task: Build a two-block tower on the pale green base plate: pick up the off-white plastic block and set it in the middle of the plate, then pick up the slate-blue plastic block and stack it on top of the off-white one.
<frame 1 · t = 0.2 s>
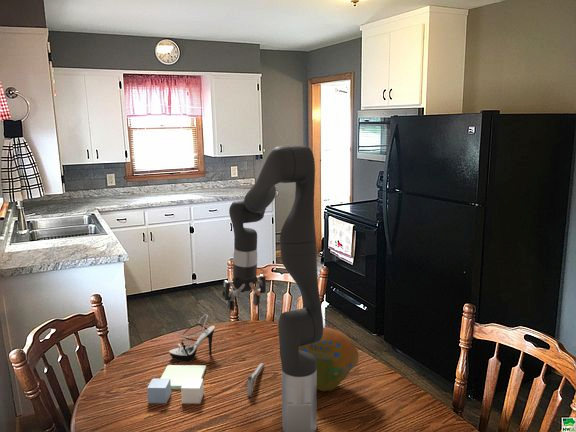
hand: (243, 307, 158), 22 cm above the table, tool pointing down, fingers open, 8 cm apart
brick top: (159, 398, 146), on the table
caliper: (256, 381, 156), on the table
sandal: (192, 356, 173), on the table
base plate: (182, 378, 157), on the table
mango: (325, 387, 152), on the table
white cube: (192, 398, 146), on the table
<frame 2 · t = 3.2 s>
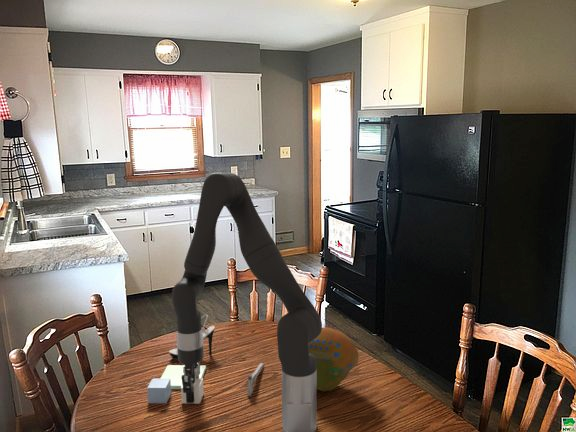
hand: (192, 396, 146), 1 cm above the table, tool pointing down, fingers closed on white cube, 5 cm apart
white cube: (192, 398, 146), on the table, touching gripper
everything else where it was.
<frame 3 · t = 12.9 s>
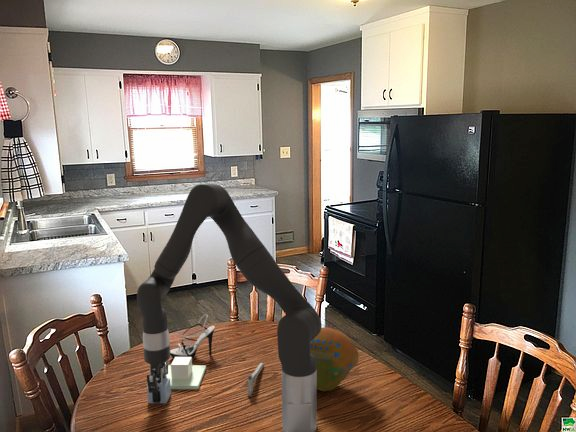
hand: (159, 396, 146), 1 cm above the table, tool pointing down, fingers closed on brick top, 5 cm apart
brick top: (159, 398, 146), on the table, touching gripper
white cube: (182, 375, 157), point 1 cm above the table, touching base plate
everything else where it was.
when the fingers open (8 cm above the table, at t = 17.4 s): brick top stays where it is, resting on white cube.
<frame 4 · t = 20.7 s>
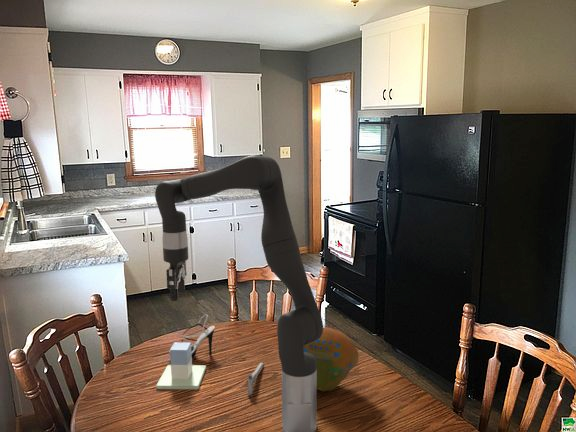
hand: (178, 295, 152), 28 cm above the table, tool pointing down, fingers open, 8 cm apart
brick top: (181, 360, 156), point 6 cm above the table, touching white cube
white cube: (182, 375, 157), point 1 cm above the table, touching base plate, brick top
everything else where it was.
at the end: white cube 0.0 cm off-centre on the base plate, point 1.2 cm above the base plate's base; brick top 0.0 cm off-centre on the white cube, point 5.0 cm above the white cube's base; brick top tilted 0° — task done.
